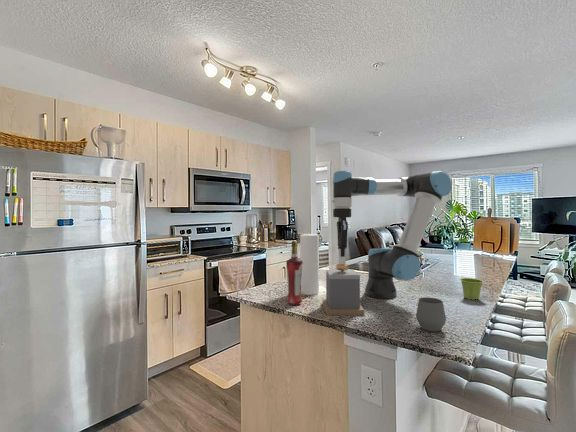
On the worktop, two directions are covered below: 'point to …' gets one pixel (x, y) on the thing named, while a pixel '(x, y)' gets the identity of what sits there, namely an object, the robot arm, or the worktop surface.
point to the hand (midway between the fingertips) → (342, 263)
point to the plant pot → (471, 288)
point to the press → (342, 293)
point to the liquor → (294, 276)
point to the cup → (431, 314)
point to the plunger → (342, 267)
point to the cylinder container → (310, 263)
